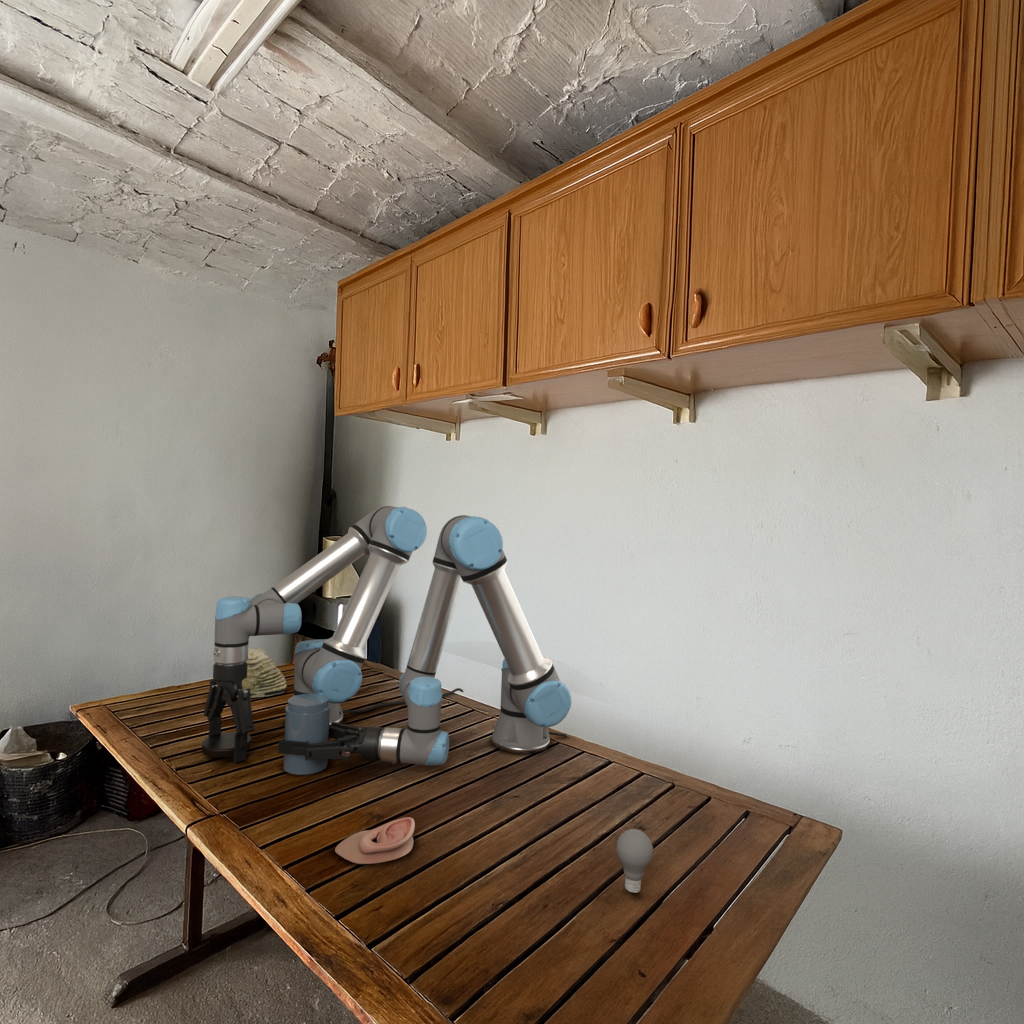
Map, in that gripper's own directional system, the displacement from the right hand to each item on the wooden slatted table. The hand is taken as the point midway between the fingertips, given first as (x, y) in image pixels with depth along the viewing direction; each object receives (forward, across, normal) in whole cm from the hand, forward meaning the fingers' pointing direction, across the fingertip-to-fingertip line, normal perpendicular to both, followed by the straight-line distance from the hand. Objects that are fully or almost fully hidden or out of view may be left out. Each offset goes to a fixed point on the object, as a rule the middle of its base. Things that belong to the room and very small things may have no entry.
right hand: (289, 737), depth 149 cm
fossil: (+31, +47, -6) cm, 57 cm away
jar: (-4, 0, -6) cm, 8 cm away
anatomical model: (-30, -32, -6) cm, 44 cm away
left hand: (+16, +2, -6) cm, 17 cm away
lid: (+16, +2, -3) cm, 16 cm away
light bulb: (-76, -38, -6) cm, 85 cm away
